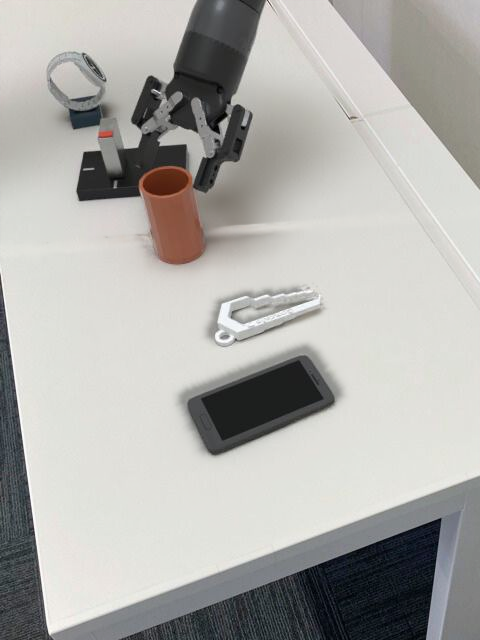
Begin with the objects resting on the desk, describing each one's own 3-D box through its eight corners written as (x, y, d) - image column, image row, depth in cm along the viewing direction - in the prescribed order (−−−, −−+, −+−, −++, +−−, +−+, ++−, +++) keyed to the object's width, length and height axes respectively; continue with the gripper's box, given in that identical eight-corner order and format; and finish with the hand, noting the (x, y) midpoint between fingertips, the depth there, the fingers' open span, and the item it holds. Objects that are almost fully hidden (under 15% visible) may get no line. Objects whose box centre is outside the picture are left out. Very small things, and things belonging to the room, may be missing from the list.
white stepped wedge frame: (308, 284, 92) (307, 273, 90) (326, 311, 89) (325, 300, 87) (204, 319, 88) (202, 308, 87) (219, 348, 85) (217, 338, 84)
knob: (111, 157, 104) (100, 116, 99) (126, 156, 104) (115, 115, 100) (108, 178, 101) (96, 137, 96) (124, 177, 101) (113, 135, 96)
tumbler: (154, 266, 94) (137, 199, 87) (156, 234, 98) (140, 168, 91) (205, 261, 94) (192, 195, 87) (205, 230, 99) (192, 164, 91)
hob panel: (82, 209, 101) (75, 190, 99) (89, 169, 107) (83, 150, 105) (189, 201, 103) (185, 181, 100) (190, 162, 109) (186, 142, 106)
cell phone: (185, 404, 80) (184, 399, 79) (307, 356, 84) (306, 352, 83) (211, 456, 75) (210, 452, 75) (337, 403, 80) (337, 399, 79)
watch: (119, 130, 114) (101, 60, 106) (63, 140, 112) (40, 69, 104) (115, 111, 118) (97, 41, 109) (61, 120, 116) (38, 50, 108)
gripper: (284, 71, 88) (236, 205, 90) (187, 41, 93) (143, 169, 95) (252, 46, 81) (201, 192, 83) (149, 15, 86) (102, 153, 88)
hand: (170, 179), depth 89 cm, fingers open, 8 cm apart
